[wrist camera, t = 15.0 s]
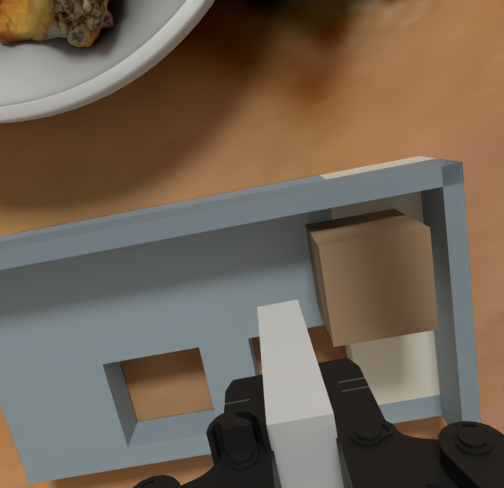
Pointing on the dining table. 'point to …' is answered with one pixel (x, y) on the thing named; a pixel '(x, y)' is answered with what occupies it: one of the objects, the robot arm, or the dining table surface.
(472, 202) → the dining table surface
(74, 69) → the bowl
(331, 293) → the block
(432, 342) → the box
